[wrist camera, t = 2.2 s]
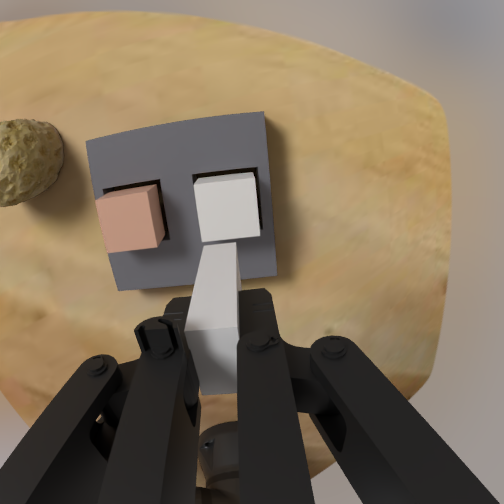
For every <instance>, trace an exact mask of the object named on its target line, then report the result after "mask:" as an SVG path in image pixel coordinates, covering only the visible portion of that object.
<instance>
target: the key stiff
mask: <svg viewBox="0 0 504 504" xmlns="http://www.w3.org/2000/svg"><path fill="white" fill-rule="evenodd" d="M95 202H96V207H97V212H98V217H99V221H100V226H101V230H102V234H103V238H104V242H105V246H106V250H107V253H114V252H122V251H130V250H139V249H147V248H155V247H158V246H159V244H160V242H161V241H162V239H163V237H164V236H165V230H164V224H163V219H162V213H161V207H160V202H159V196H158V189H157V184H155V185H149V186H142V187H136V188H131V189H125V190H119V191H114V192H109V193H107V194H105V195H104V196H102V197H100V198H99V199H97V200H95Z"/></svg>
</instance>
